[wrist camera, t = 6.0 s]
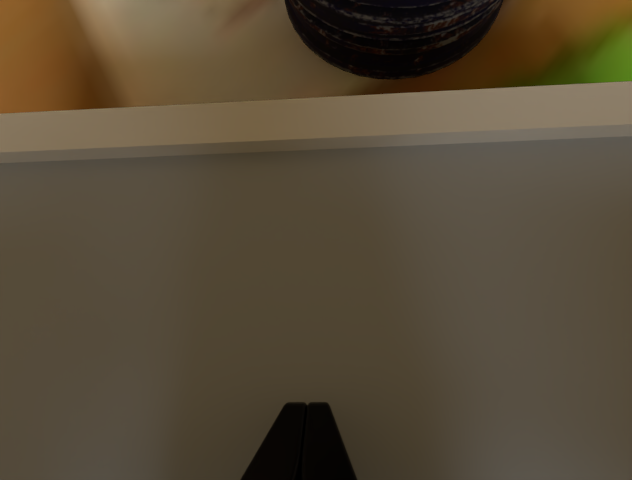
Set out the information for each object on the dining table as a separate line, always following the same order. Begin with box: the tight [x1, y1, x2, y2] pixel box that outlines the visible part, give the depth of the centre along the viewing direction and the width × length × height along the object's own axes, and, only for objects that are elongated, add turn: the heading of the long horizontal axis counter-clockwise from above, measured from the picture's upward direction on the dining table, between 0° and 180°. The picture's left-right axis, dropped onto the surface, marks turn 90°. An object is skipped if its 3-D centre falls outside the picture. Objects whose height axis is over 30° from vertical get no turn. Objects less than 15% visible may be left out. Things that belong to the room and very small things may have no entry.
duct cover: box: [0, 81, 632, 480], centre depth 10 cm, size 11×22×1 cm, turn 91°
